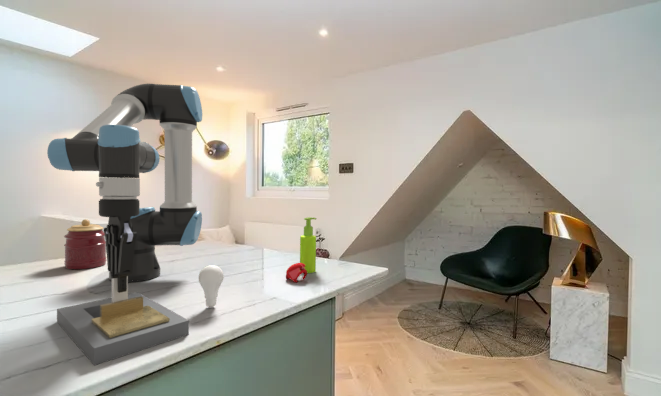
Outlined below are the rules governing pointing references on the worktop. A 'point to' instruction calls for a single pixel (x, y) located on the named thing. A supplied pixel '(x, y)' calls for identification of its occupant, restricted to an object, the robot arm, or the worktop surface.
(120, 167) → the robot arm
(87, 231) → the canister
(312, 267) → the soap dispenser
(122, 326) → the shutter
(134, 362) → the worktop surface
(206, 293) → the lightbulb
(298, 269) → the cap
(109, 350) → the socket block
